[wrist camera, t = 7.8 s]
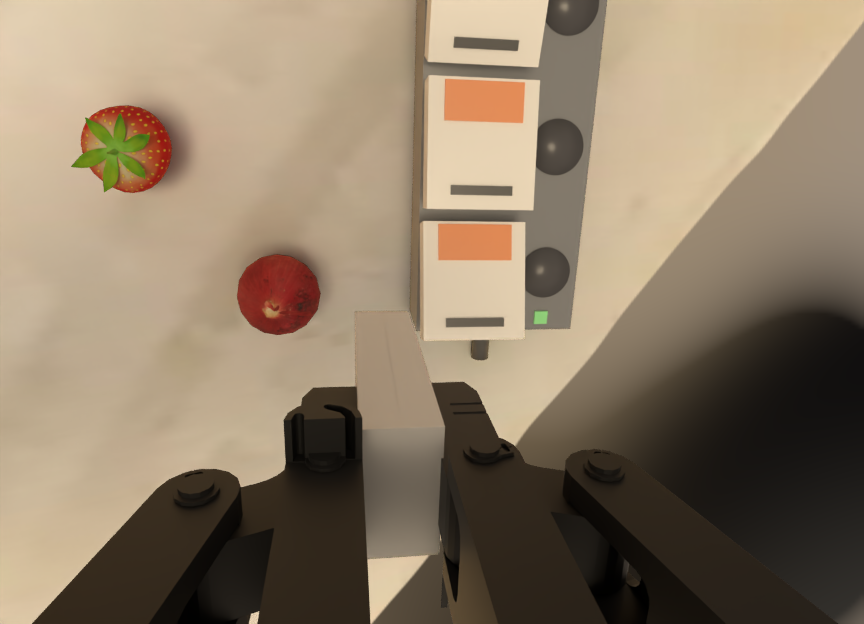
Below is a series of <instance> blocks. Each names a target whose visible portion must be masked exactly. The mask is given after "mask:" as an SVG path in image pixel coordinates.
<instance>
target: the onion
mask: <svg viewBox="0 0 864 624" xmlns="http://www.w3.org/2000/svg"><path fill="white" fill-rule="evenodd" d="M320 294H321V293H320V290H319V286H318V282H317V279H316V277H315V275H314V274H313V273H312V272H311V271H310V269H309V268H308V267H307V266H306V265H305V264H303V263H301V262H300V261H298V260H296V259H295V258H293V257H290V256H284V255H278V254H276V255H271V256H266V257H262V258H260V259H258V260H257V261H255V262H254V263H252V264H251V265H250V266H248V267H247V268H246V270H245V271H244V273H243V275H242V276H241V278H240V280H239V286H238V293H237V299H238V303H239V306H240V310H241V313H242V314H243V315H244V317H245V318H246V319H247V320H248V322H249V323H250V324H251V325H252V326H253V327H255V328H257V329H259V330H260V331H262V332H264V333H269V334H275V335H281V334H287V333H293V332H295V331H297V330H298V329H300V328H302V327H304V326H305V325H307V323H308V322H309V321H310V319H311V318H312V317H313V315H314V314H315V313H316V311H317V310H318V305H319V299H320Z"/></svg>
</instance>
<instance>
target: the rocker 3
mask: <svg viewBox="0 0 864 624" xmlns="http://www.w3.org/2000/svg"><path fill="white" fill-rule="evenodd" d="M420 338H421V339H422V340H423V341H445V340H504V339H525V222H474V221H423V222H421V223H420Z"/></svg>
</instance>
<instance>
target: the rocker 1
mask: <svg viewBox="0 0 864 624" xmlns="http://www.w3.org/2000/svg"><path fill="white" fill-rule="evenodd" d="M548 1H549V0H427V17H426V35H425V53H424V56H425V58H426V59H427V61H428V62H441V63H461V64H481V65H501V66H521V67H538V66H539V59H540V53H541V46H542V40H543V34H544V27H545V21H546V14H547V8H548Z"/></svg>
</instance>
